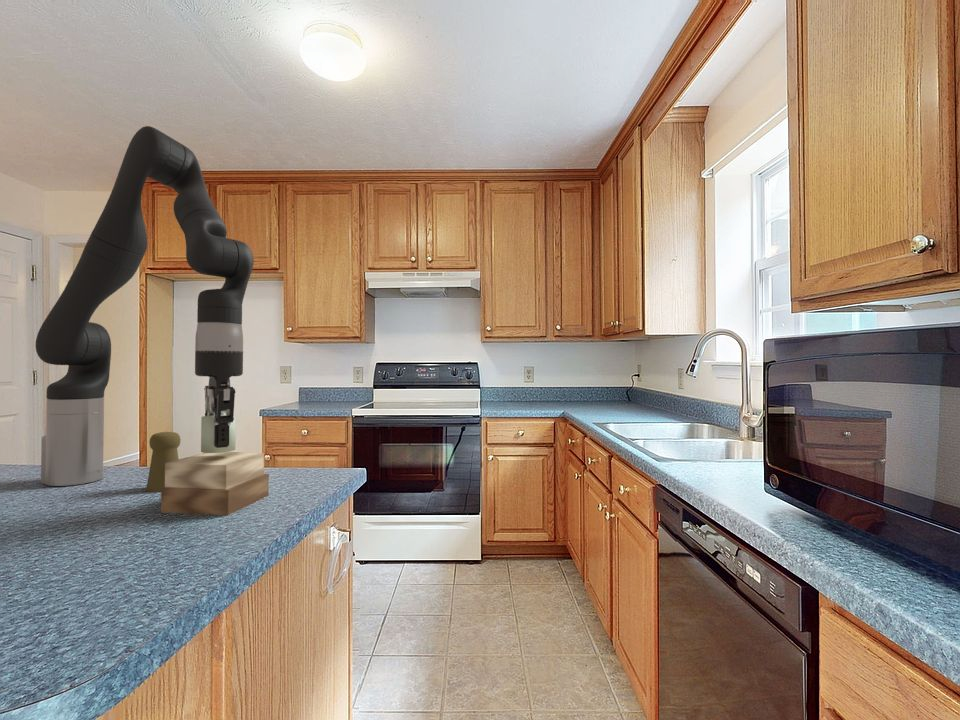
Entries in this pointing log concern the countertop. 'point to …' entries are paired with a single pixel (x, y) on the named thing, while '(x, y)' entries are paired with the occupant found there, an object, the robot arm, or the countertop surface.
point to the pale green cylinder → (208, 436)
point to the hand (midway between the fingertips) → (218, 444)
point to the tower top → (214, 470)
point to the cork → (161, 458)
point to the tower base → (214, 498)
